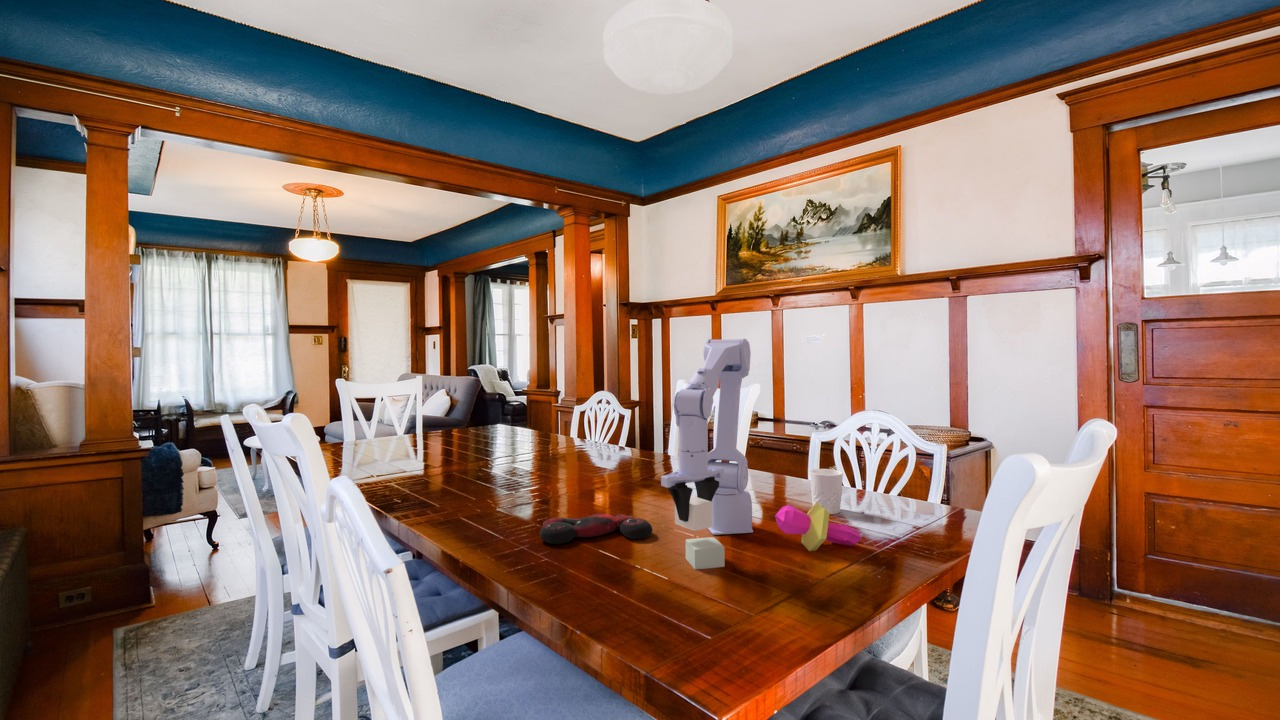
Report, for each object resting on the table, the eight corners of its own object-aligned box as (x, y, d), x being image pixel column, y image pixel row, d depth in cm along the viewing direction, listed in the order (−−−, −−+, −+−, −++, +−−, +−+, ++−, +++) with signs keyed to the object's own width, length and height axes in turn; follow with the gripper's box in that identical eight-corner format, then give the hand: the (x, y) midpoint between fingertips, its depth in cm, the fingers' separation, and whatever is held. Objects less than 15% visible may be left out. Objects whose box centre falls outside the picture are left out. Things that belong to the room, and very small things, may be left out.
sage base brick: (713, 556, 118) (713, 537, 118) (724, 567, 112) (724, 547, 112) (685, 559, 117) (685, 539, 117) (694, 570, 111) (694, 549, 111)
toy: (865, 563, 116) (870, 511, 120) (779, 537, 116) (787, 487, 120) (842, 565, 125) (848, 517, 129) (763, 542, 125) (771, 494, 129)
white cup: (849, 512, 148) (849, 473, 148) (827, 517, 144) (827, 476, 144) (825, 505, 155) (825, 467, 155) (803, 509, 151) (803, 470, 151)
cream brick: (692, 519, 120) (691, 495, 119) (711, 527, 115) (711, 501, 114) (674, 523, 117) (674, 498, 117) (694, 531, 112) (694, 505, 112)
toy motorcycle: (655, 546, 128) (642, 514, 144) (655, 524, 127) (642, 494, 143) (540, 557, 124) (540, 523, 140) (539, 534, 123) (539, 502, 139)
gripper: (707, 443, 123) (707, 507, 123) (651, 450, 114) (652, 519, 115) (730, 448, 117) (731, 515, 117) (673, 456, 109) (674, 528, 109)
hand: (693, 518), depth 116 cm, fingers closed on cream brick, 4 cm apart
